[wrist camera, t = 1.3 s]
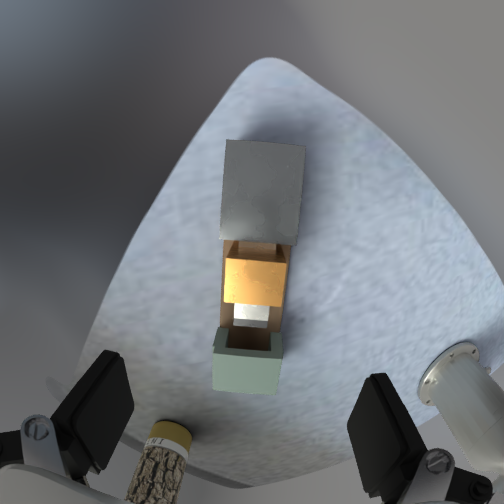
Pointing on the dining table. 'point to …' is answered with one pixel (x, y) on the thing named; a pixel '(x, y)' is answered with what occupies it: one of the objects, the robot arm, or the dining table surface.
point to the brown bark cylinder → (161, 465)
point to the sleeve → (262, 192)
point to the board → (241, 334)
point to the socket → (246, 366)
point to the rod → (254, 281)
